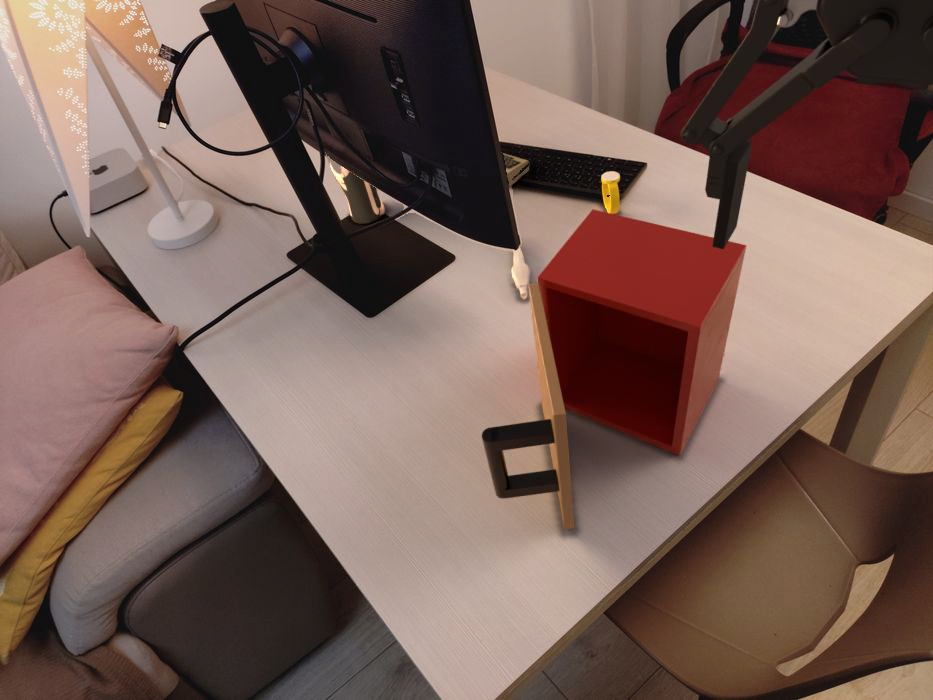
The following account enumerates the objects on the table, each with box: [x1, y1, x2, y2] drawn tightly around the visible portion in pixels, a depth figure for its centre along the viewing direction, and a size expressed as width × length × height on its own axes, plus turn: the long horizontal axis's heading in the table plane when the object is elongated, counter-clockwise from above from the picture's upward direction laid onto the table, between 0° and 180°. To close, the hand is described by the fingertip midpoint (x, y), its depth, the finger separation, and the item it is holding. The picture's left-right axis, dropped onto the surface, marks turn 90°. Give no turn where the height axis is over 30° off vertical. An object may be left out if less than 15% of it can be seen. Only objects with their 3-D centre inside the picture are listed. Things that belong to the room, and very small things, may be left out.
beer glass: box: [325, 153, 386, 225], centre depth 104 cm, size 7×7×15 cm
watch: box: [600, 170, 621, 215], centre depth 97 cm, size 6×3×6 cm, turn 4°
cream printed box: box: [502, 152, 530, 187], centre depth 112 cm, size 16×8×3 cm, turn 50°
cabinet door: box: [481, 282, 575, 531], centre depth 63 cm, size 7×16×20 cm, turn 3°
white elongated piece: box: [510, 246, 531, 301], centre depth 93 cm, size 15×3×2 cm, turn 2°
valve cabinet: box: [536, 209, 747, 456], centre depth 68 cm, size 12×16×20 cm
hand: (832, 261), depth 40 cm, fingers open, 13 cm apart
